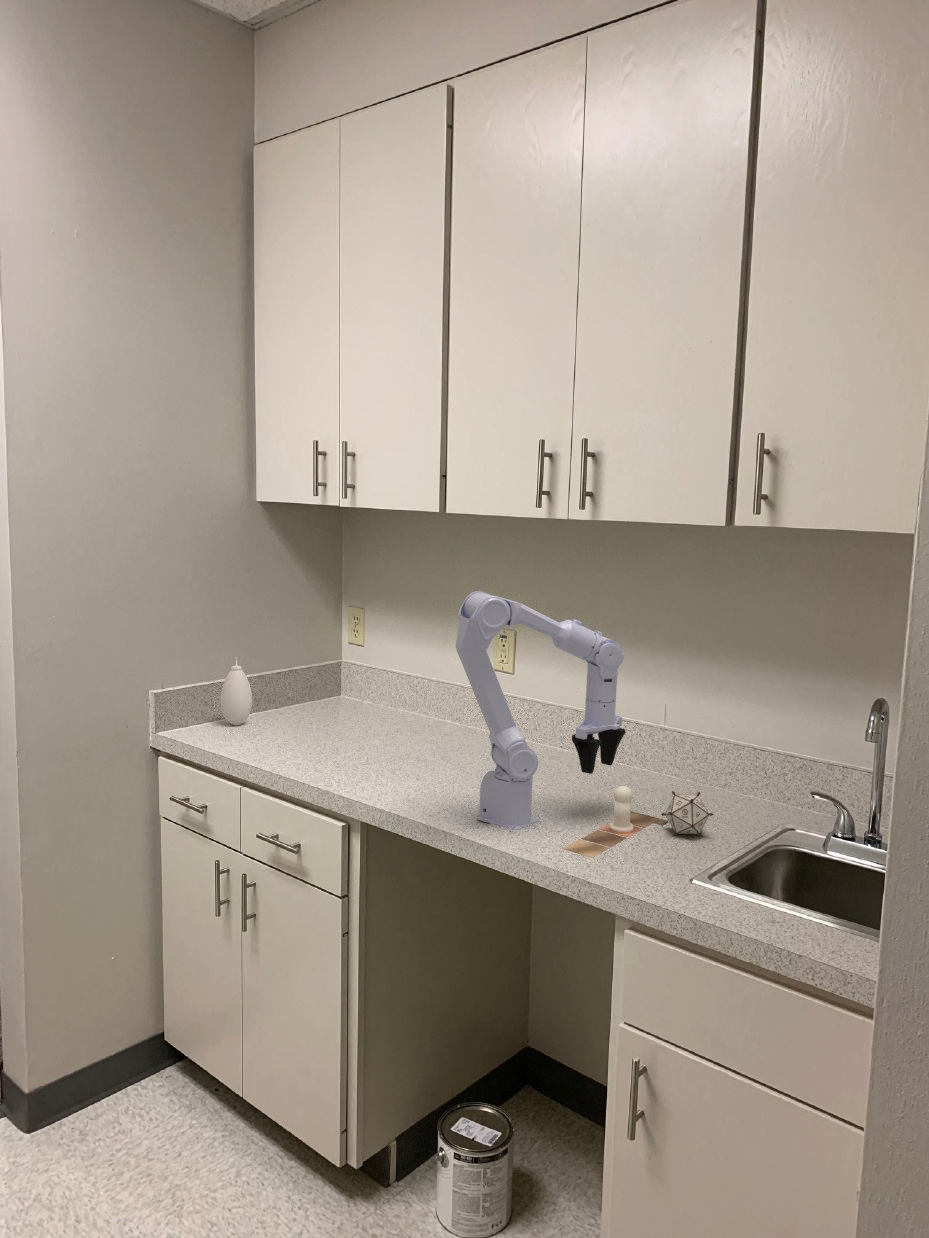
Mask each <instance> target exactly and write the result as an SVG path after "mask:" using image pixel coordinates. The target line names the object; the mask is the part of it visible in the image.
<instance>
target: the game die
mask: <svg viewBox="0 0 929 1238" xmlns="http://www.w3.org/2000/svg"><path fill="white" fill-rule="evenodd" d="M671 795H673V796H672V799H671V801H670V802H669V805H668V807H667V809H666V812H662V813H661V814H660V815H661V816H662V817H663V816H665V817H666V819H667V820H668V823H669V824H670V826H671V828H672V830H673V832H674V833H673V837H677V836H678V835H698V837H703V835H702V834H701V832H702V830H703V828H704V827H705V824H706V823H707V820H708V818H709V817H713V816H714V813H713V812H710V813H709V812H708V811H709V810H708V809H707V808H706V805H705V804H704V803H703V800H701V798H700V795H701V791H698V792H697V793H696V794H676V792H675V791H674V790H671Z"/></svg>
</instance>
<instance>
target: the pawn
mask: <svg viewBox="0 0 929 1238" xmlns="http://www.w3.org/2000/svg"><path fill="white" fill-rule="evenodd" d="M633 795H634V794H633V791H632V789H630V787H628V786H625V785H620V786H618V787H617V788H616V789H615V790H614V792H613V798H614V804H613V805H614V808H613V821H610V822H609V823H608V824H609V829H610V830H611V831H613V832H617V833H631V832H633V826H634V825H633V824H631V823H630V812H631V811H632V810H631V809H632V799H633Z"/></svg>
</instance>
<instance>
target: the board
mask: <svg viewBox="0 0 929 1238" xmlns="http://www.w3.org/2000/svg"><path fill="white" fill-rule="evenodd" d="M630 823H631V824H633V832H631V833H617V832H613V831H611V830H610V829H609V824H610V823H608V824H605V825H604V826H603V827H601V828H599V829H597V830H595V831H593V832H591V833H589V834H587V835H585V836H583V837H582V838H581V839H578V840H575V841H574V842H572V843H570V844H569V845H567V846H564V847H562V850H564V851H569V852H572V853H574V854H577V855H581V856H586V857H588V858H591V859H592V858H594V857H596V856H598V855H600V854H601V853H604V852H605V851H606V850H608V849H610V848H612V847H614V846H615V845H617V844H619V843H621V842H623V841H624V840H626V839H627V838H629V837H631V836H633V835H635V834H637V833H639V832H640V831H642V830H643V829H645V828H647V827H649V826H651V825H652V824H655V825H658V826H664V825H667V823H669V821H668V819H667V820H666V819H664V818H658V817H656V816H653V815H652V816H651V815H648V814H644V813H640V812H635V811H632V810H631V812H630Z"/></svg>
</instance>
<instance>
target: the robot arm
mask: <svg viewBox="0 0 929 1238" xmlns="http://www.w3.org/2000/svg"><path fill="white" fill-rule="evenodd" d="M582 624H583V622H582V621H581V620H577V619H576V618H573V620H570V619H565V620H563V621H560V622H558V621H556V620H555V619H552V618H551V617H548V616H547V615H544V614H543V613H540V612H539V611H536V610H535V609H533V608H531V607H529V606H527V605H526V604H523V603H521V602H517V601H516V600H515V601H514V600H511V599H509V598H504V597H501V596H497V595H491V594H489V593H488V592H486V591H483V590H477V591H473V592H471V593H469V594H468V595H467V596H466V597H465V599H464V601H463V602H462V604H461V606H460V607H459V609H458V628H457V634H456V642H455V648H456V652H457V655H458V657H459V659H460V662H461V664H462V667H463V670H464V672H465V675H466V677H467V679H468V682H469V684H470V687H471V689H472V691H473V694H474V696H475V699H476V702H477V704H478V706H479V709H480V711H481V714H482V715H483V718H484V720H485V723H486V725H487V729H488V731H489V736H488V739H489V741H490V744H491V748H490V749H491V750H490V755H491V759H492V761H493V763H495V770H490V771H488V772H486V773H485V774H484V776H483V777H482V780H481V782H480V785H479V786H480V787H479V810H478V812H479V814H478V816H477V817H476V820H478V821H481V822H485V823H488V824H493V825H496V826H501V827H504V828H508V829H511V830H515V831H519V830H522V829H523V828H525V827H528V826H530V825H532V824H534V823H537V822H538V821H540V820H541V818H540V817H538V816H533V815H532V804H533V803H532V797H533V778H534V777H533V776H534V774H535V773H536V772H537V770H538V766H539V759H538V754H537V753H536V752H535V750H533V749H532V748H531V747H530V746H529V745H528V744H527V741H526V739H525V738H524V735H523V734H522V733H521V731H520V729H519V728H518V727H517V724H516V722H515V719H514V717H513V714H512V712H511V710H510V707H509V705H508V702H507V699H506V697H505V694H504V691H503V690H502V689H503V688H502V686H501V684H500V681H499V680H498V677H497V675H496V671H495V669H494V667H493V665H492V662H491V660H490V657H489V655H488V653H487V650H488V648H489V646H490V645H491V643H492V641H493V640H494V638H495V637H496V636H497V635H498V634H499V633H500V632H501V631H502V630H503V629H504V628H505V627H506V626H508V627H513V626H517V625H521V626H525V627H527V628H529V629H531V630H533V631H536V632H539V633H540V634H544V635H546V636H548V637H549V638H551V639H552V642H553V645H554V647H555V648H556V649H559V650H561V651H563V652H565V653H568V654H570V655H572V656H574V657H576V658H578V659H581V660H583V661H585V662H586V663H587V667H586V668H587V670H586V671H587V672H586V690H585V707H584V708H585V711H584V720H583V721H582V723H580V725H579V726H577V727H576V728H575V733H574V734H572V735H571V741H572V743H573V745H574V747H575V749H576V753H577V755H578V759H579V765H580V769H581V772H582V773H585V774H589V775H592V774H593V773H594V771H595V766H596V759H597V754H598V751H599V750H600V752H599V754H600V762H601V764H602V765H606V766H612V765H613V764H614V760H615V757H616V754H617V750H618V747H619V746H620V744H621V743H620V742H621V741H622V739H623V737H625V734H626V729H625V728H621V727H622V722H623V716H621V715H616V705H617V704H616V703H617V689H618V688H617V686H618V684H617V683H618V673H619V672H618V670H619V668H620V666H621V665H622V664H623V662H624V659H625V654H624V653H623V650H622V647H621V645H620V643H619V642H617V641H616V640H613V639H612V638H611V639H610V638H607V637H606V636H603V632H601V631H599V630H592V629H590V628H587V627H585V626H583V625H582ZM595 734H597V736H598V739H596V738H595V736H594V735H595Z"/></svg>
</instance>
